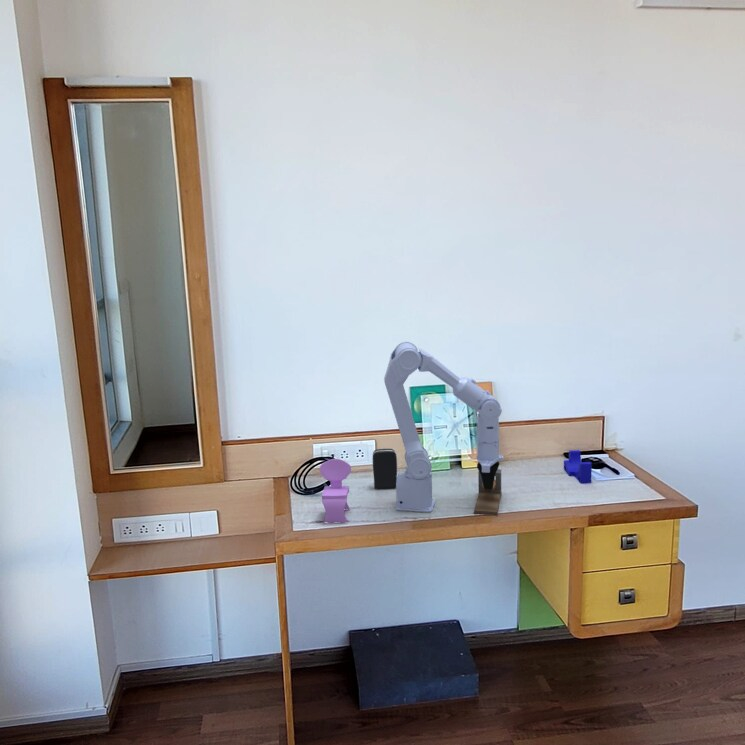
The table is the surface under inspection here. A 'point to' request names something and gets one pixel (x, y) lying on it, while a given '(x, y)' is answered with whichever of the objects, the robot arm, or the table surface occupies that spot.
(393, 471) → the battery
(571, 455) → the blue stepped block
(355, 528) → the table surface
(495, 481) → the light bulb
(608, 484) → the table surface
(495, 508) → the board
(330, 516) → the toy chair
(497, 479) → the housing
